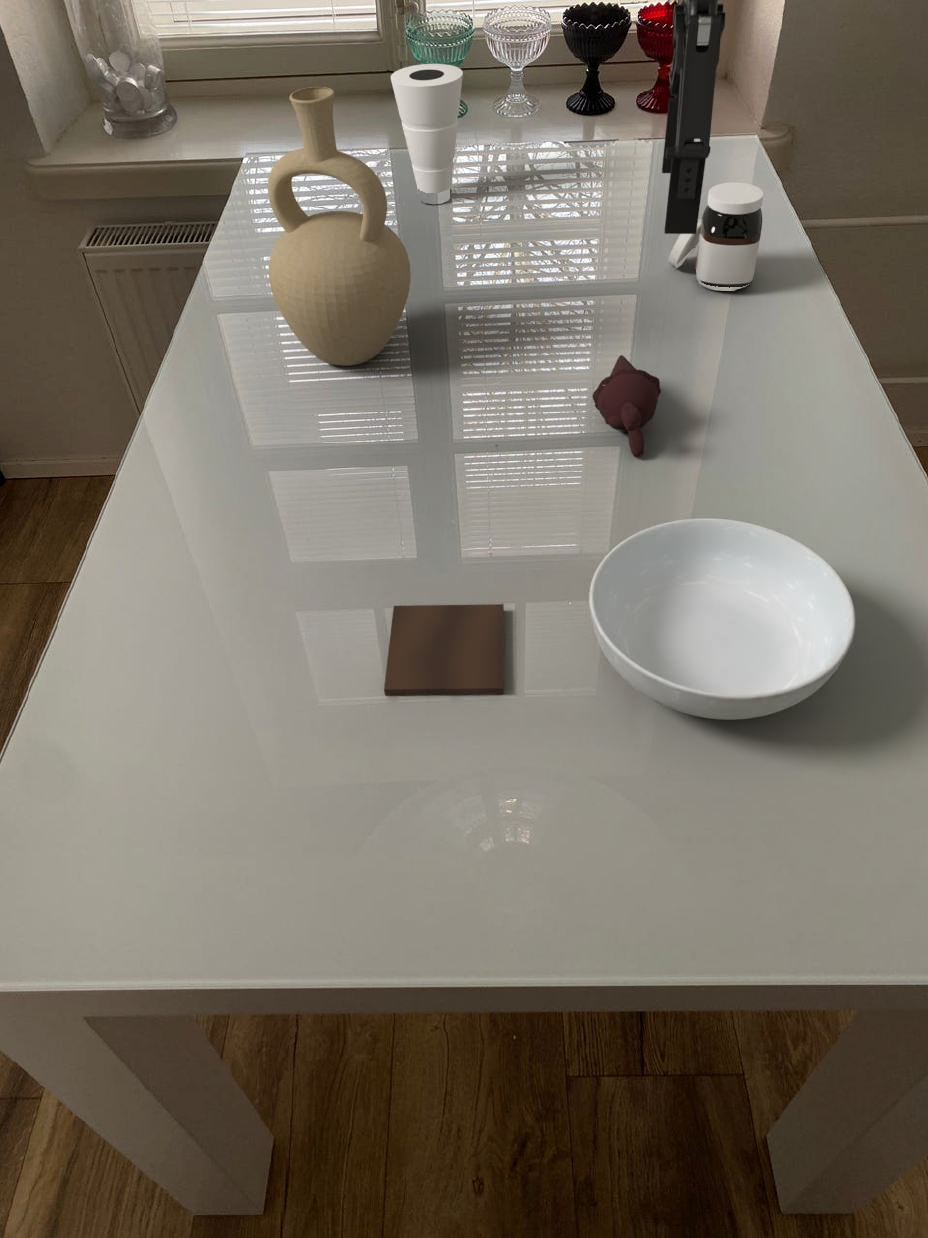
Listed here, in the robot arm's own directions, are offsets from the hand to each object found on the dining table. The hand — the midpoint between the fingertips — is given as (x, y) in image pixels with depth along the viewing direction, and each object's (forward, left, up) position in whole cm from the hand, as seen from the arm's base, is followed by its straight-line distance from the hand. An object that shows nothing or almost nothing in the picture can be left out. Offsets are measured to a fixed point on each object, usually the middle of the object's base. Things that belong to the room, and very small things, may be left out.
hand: (677, 200), depth 89 cm
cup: (+44, -56, -25) cm, 75 cm away
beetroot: (+3, 0, -25) cm, 25 cm away
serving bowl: (-10, +33, -25) cm, 43 cm away
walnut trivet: (+12, +38, -25) cm, 47 cm away
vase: (+39, -8, -25) cm, 47 cm away
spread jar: (-2, -37, -25) cm, 45 cm away
